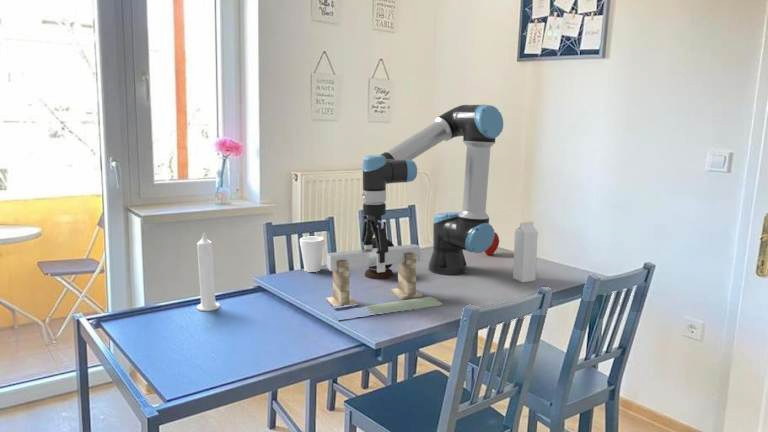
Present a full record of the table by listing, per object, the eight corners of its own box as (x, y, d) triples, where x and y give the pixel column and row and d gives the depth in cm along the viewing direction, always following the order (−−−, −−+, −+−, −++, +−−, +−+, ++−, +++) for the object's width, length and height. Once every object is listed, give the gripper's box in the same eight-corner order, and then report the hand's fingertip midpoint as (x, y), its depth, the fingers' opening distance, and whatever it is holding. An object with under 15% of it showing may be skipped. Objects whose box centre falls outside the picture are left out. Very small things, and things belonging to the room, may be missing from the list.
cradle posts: (411, 288, 205) (411, 248, 202) (422, 296, 197) (423, 254, 194) (325, 300, 192) (324, 257, 190) (333, 309, 184) (333, 264, 181)
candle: (199, 304, 189) (195, 230, 184) (221, 303, 190) (217, 229, 185) (194, 311, 182) (189, 235, 177) (217, 311, 183) (212, 234, 178)
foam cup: (320, 274, 222) (319, 242, 220) (297, 273, 224) (296, 240, 222) (327, 268, 231) (326, 236, 229) (305, 266, 233) (304, 235, 231)
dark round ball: (367, 281, 213) (367, 242, 211) (358, 272, 226) (357, 234, 223) (401, 278, 218) (401, 239, 215) (389, 269, 230) (389, 232, 227)
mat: (431, 297, 195) (431, 296, 195) (442, 305, 188) (442, 303, 188) (330, 312, 181) (330, 311, 181) (338, 321, 174) (338, 319, 174)
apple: (476, 252, 255) (477, 229, 253) (495, 252, 256) (496, 228, 254) (482, 257, 247) (483, 233, 245) (501, 257, 248) (502, 232, 246)
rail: (414, 258, 200) (414, 244, 199) (419, 260, 197) (420, 246, 196) (327, 268, 188) (326, 253, 187) (330, 271, 184) (330, 256, 183)
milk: (535, 280, 214) (538, 223, 210) (522, 282, 212) (525, 224, 208) (525, 276, 220) (528, 220, 215) (512, 278, 217) (515, 221, 213)
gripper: (351, 198, 197) (352, 260, 201) (377, 209, 176) (377, 278, 181) (371, 197, 200) (372, 258, 204) (399, 207, 179) (398, 275, 183)
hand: (374, 267), depth 192 cm, fingers open, 10 cm apart
